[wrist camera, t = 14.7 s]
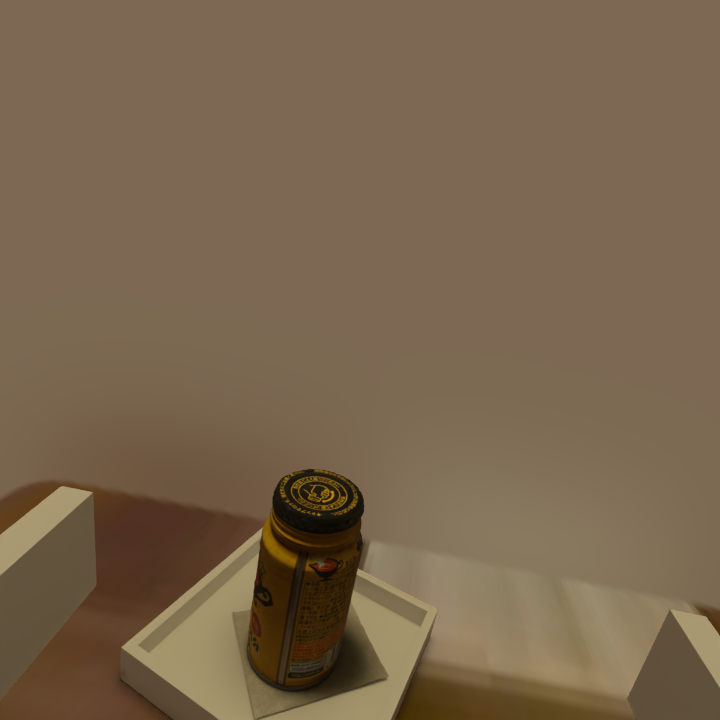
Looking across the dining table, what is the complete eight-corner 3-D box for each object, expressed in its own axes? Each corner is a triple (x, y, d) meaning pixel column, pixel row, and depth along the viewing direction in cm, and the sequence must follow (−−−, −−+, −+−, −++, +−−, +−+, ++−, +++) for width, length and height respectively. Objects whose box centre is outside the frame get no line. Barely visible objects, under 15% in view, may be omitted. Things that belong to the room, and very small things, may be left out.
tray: (430, 635, 35) (437, 609, 34) (340, 849, 22) (349, 815, 22) (265, 546, 40) (268, 522, 39) (120, 678, 28) (121, 647, 27)
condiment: (231, 614, 32) (249, 462, 28) (345, 591, 36) (374, 453, 32) (253, 722, 26) (280, 545, 22) (387, 680, 30) (430, 523, 26)
